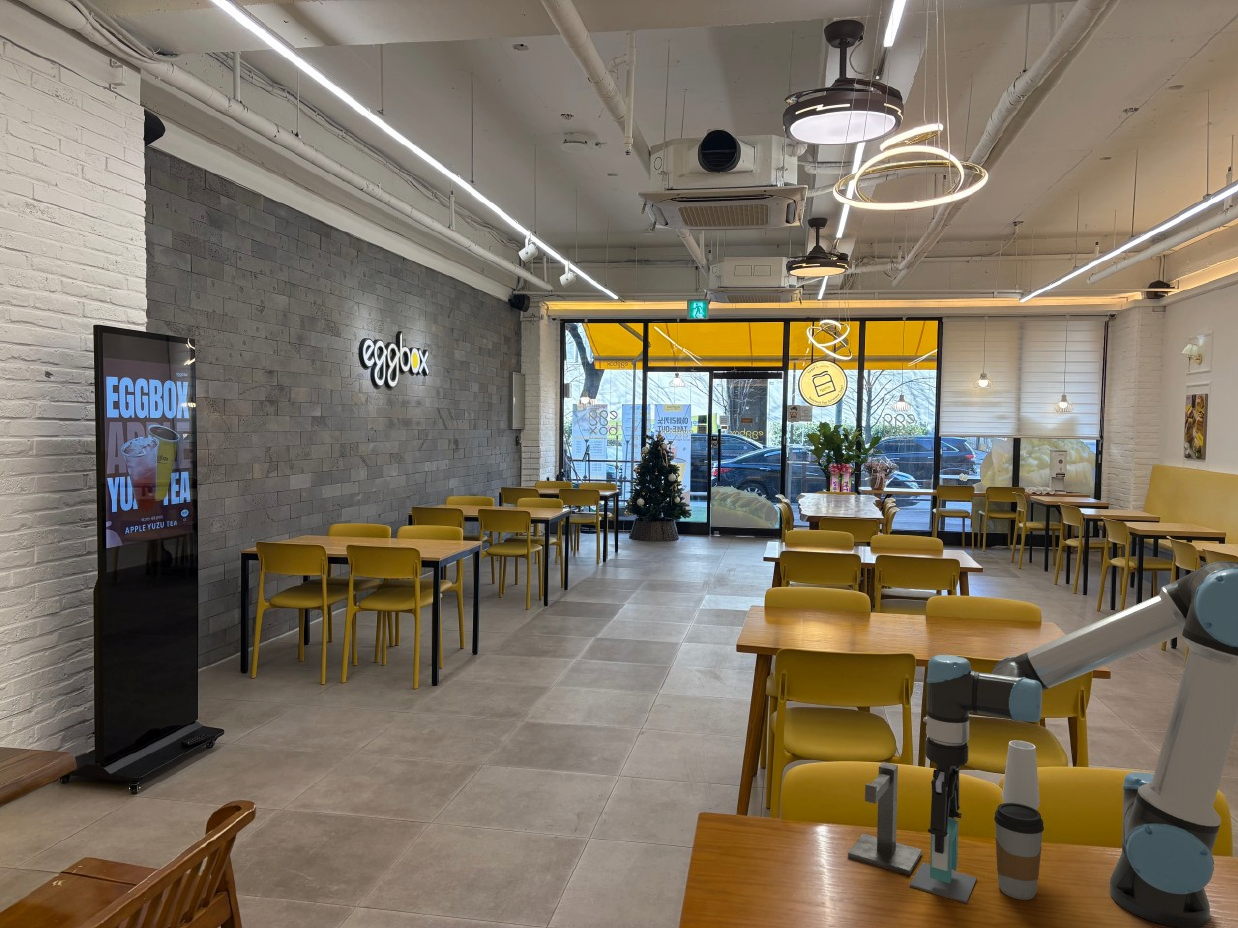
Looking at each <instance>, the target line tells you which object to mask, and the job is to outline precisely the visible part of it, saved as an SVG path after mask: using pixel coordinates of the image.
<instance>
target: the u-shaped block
mask: <svg viewBox="0 0 1238 928" xmlns="http://www.w3.org/2000/svg"><path fill="white" fill-rule="evenodd" d="M947 832H948V834H949V844H948V870H947V871H945V870H941V869H938V868H934V867H932V834H930V858H929V859H930V860H929V861H930V863H929V864H930V878H933V879H936V880H939V881H943V882H946V883H950V882H951V879H952V871H955V872H957V870H958V860H959V859H958V857H959V856H958V853H959V849H958V848H959V820H957V821H956V820H952V819H948V829H947Z"/></svg>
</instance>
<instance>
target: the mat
mask: <svg viewBox="0 0 1238 928" xmlns="http://www.w3.org/2000/svg"><path fill="white" fill-rule="evenodd" d="M977 880H978V878H977V877H976V876H973V875H969V874H966V873H961V872H959V871H955V870H952V879H951V882H950V883H946V882H943V881H939V880H936V879H933V878H930V863H927V862H926V863H925V862H921V864H920V866H919V867H918V869H917V871H916V873H915V874H914V876H913V878H912V879H911V881H910V883H909V887H911V888H913V889H917V890H920V891H924V892H928V893H929V894H930V893H931V894H934V895H937V896H940V897H944V898H948V899H951V900H953V901H957V902H960V903H964V904H968V902H969V899H970V896H972V895H971V894H972V892H973V890H974V887H975V885H976V882H977Z"/></svg>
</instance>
